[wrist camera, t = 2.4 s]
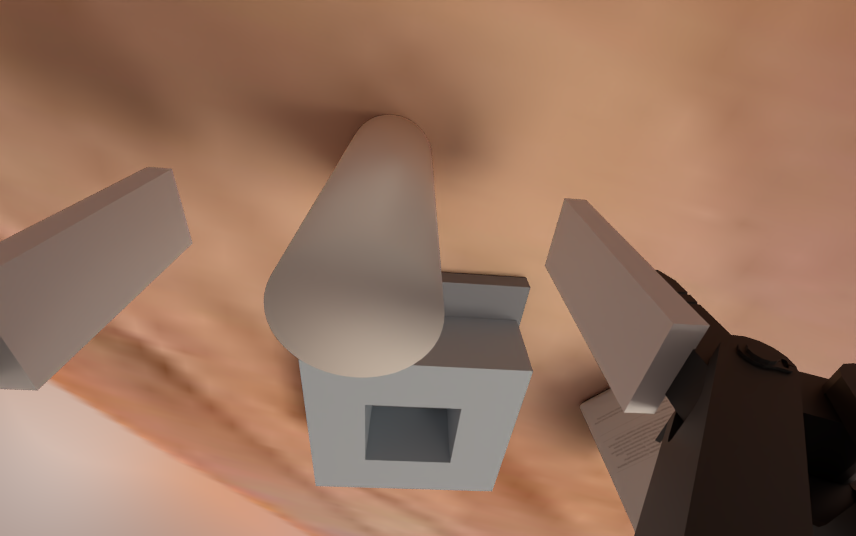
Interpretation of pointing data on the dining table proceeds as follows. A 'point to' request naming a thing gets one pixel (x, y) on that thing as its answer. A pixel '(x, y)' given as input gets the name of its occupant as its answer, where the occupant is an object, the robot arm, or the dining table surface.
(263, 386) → the dining table surface
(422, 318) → the dowel
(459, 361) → the socket
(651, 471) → the skincare box
